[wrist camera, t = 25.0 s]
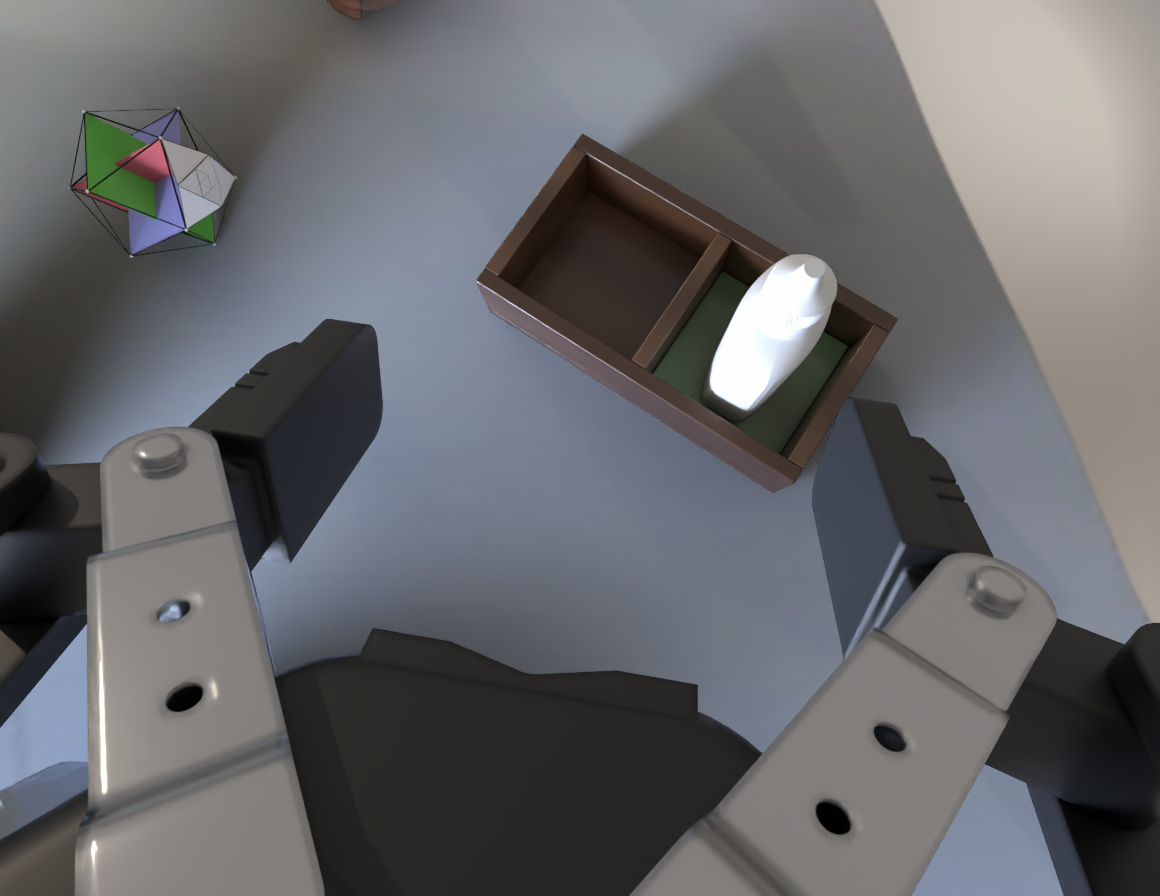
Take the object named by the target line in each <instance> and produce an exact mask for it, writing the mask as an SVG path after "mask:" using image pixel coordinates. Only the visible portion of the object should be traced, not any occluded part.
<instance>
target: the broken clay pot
mask: <svg viewBox="0 0 1160 896" xmlns="http://www.w3.org/2000/svg"><path fill="white" fill-rule="evenodd" d="M399 1H401V0H327V2H328V3H329V4H331V6H332V7H333V8H334V9H335V10H336V11H338V12H340V13H342V14H344V15H346V16H349V17H351V18H353V19H359V17H361V16H362V12H363V13H365V14H372V13H374V12H377V11H380V10H383V9H385V8H387V7H389V6H391V5H393V4H395V3H397V2H399Z"/></svg>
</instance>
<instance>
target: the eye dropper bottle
mask: <svg viewBox="0 0 1160 896" xmlns="http://www.w3.org/2000/svg"><path fill="white" fill-rule="evenodd" d="M833 273H834V272H833V271H832V269H831V268H830V266H828V265H827V264H826V263H825V262H824V261H822V259H819V258H817V257H815V256H812V255H806V254H804V255H803V254H800V255H799V254H797V255H795V254H794V255H790V256H787V257H785V258H783V259H781V260H780V261H778V262H777V263H775V264H774V265H773V266H771V267H770V268H769V269H767V270H766V271H765V272H764V273H763V274H762V275H761V276H760V277H759V278H758V279H757V280H756V281H755V282H754V283H753V285H752V286H751V287H750V288H749V290H748V291H747V293H746V294H745V296H744V297H743V299H742V301H741V302H740V304H739V306H738V308H737V310H736V312H735V314H734V316H733V318H732V320H731V322H730V324H729V326H728V328H727V330H726V332H725V334H724V336H723V338H722V340H721V342H720V344H719V346H718V348H717V351H716V353H715V355H714V357H713V359H712V361H711V363H710V366H709V369H708V371H707V375H706V379H705V383H704V389H703V399H704V403H705V404H706V405H707V406H708V407H709V408H711V409H713V410H714V411H716V412H718V413H719V414H721V415H723V416H725V417H727V418H728V419H730V420H733V421H741V420H743V419H745V418H747V417H748V416H750V415H751V414H752V413H754V412H755V411H756V410H757V409H758V408H759V407H760V406H761V405H763V404H764V402H765V401H766V400H767V399H768V398H769V397H770V396H771V395H772V394H773V393H774V392H775V391H776V390H777V389H778V387H779V386H780V385H781V384H782V383H783V382H784V381H785V380H786V379H787V378H788V377H789V376H790V375H791V373H792V372H793V371H794V370H795V369H796V368H797V367H798V366H799V365H800V364H801V363H802V361H803V360H804V359H805V358H806V357H807V355H808V354H809V353H810V352H811V350H812V349H813V347H814V346H815V345H816V343H817V341H818V340H819V338H820V336H821V334H822V332H823V330H824V328H825V326H826V324H827V321H828V318H829V315H830V312H831V307H832V303H833V302H834V300H835V297H836V296H837V295H836V293H837V284H836V283H837V281H836V278H835V275H834V274H833Z"/></svg>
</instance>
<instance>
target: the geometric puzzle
mask: <svg viewBox="0 0 1160 896" xmlns="http://www.w3.org/2000/svg"><path fill="white" fill-rule="evenodd" d="M148 110H161V109H148ZM118 111H131V110H118ZM82 112H83V113H84V114H83V119H84V129H85V154H86V173H85V174H84V175H83V176H82V177H81V178H80V179H78V180H77V181H76V182H75V183H74V184H73V185H72V186H71V184H70V186H69V187H68V189H69V190H72V191H73V192H74V191H76V192H78V193H81V194H83V195H86V196H88V197H91V198H92V200H93V199H95V200H98V201H100V202H103V203H105V204H108V205H110V206H113V207H115V208H118V209H120V210H123V211H125V212H127V213H128V215H129V234H130V254H129V252H128V251H127V249H126V248H125V246H124V245H123V243H122V242H121V240H120V239H119V237H118V236H117V234H116V233H115V231H114V230H113V228H112V227H111V225H110V224H109V222H108V221H107V219H106V218H105V216H104V215H103V213H102V212H101V210H100V209H99V207H98V206H97V204H96V203H95V201H94V200H93V201H94V203H95V204H96V206H97V207H98V209H99V210H100V212H101V213H102V215H103V216H104V218H105V219H106V221H107V222H108V224H109V225H110V227H111V228H112V230H113V231H114V233H115V234H116V236H117V237H118V239H119V240H120V242H121V243H122V245H123V246H124V247H123V246H122V245H121V244H120V243H119V242H118V241H117V239H116V238H115V237H114V236H113V235H112V234H111V233H110V232H109V231H108V229H107V228H106V227H105V226H104V225H103V224H102V223H101V222H100V220H99V219H98V218H97V217H96V216H95V215H94V214H93V213H92V212H91V213H92V214H93V215H94V216H95V217H96V218H97V219H98V220H99V222H100V223H101V224H102V225H103V226H104V227H105V228H106V229H107V231H108V232H109V233H110V234H111V235H112V236H113V237H114V238H115V239H116V241H117V242H118V243H119V244H120V245H121V246H122V247H123V248H124V250H125V249H126V250H125V251H126V252H127V253H128V254H129V255H130V258H133V256H137V255H135V254H137V253H140V252H142V251H144V250H146V249H148V248H150V247H152V246H154V245H156V244H159V243H161V242H163V241H165V240H167V239H169V238H171V237H173V236H175V235H177V234H180V233H183V234H186V235H189V236H192V237H195V238H197V239H200V240H203V241H206V242H208V243H211V244H208V245H212V244H213V245H216V243H215V242H216V241H215V236H214V222H213V212H215V211H216V210H218V209H219V208H221V207H222V206H223V204H224V202H225V200H226V198H227V196H228V193H229V191H230V189H231V187H232V185H233V186H234V184H233V183H234V182H235V179H237V176H233V175H232V174H233V173H232V172H231V171H230V172H231V173H232V174H231V173H230V172H229V171H228V170H226V169H225V168H224V167H223V166H222V165H221V164H219V163H218V162H217V161H216V160H215V159H213V158H212V157H211V156H210V155H209V154H206V153H203V152H200V151H198V149H197V147H196V144H195V142H194V140H193V138H192V136H191V134H190V131H189V129H188V127H187V125H186V123H185V121H184V119H183V116H182V114H183V113H182V112H181V111H180V108H179V107H177V109H175V110H174V111H172V112H170V113H168V114H167V115H165V116H163V117H161V118H160V119H158V120H156V121H154V122H153V123H151V124H149V125H148V126H146V127H144V128H142V129H141V130H138V129H135V128H132V127H129V126H126V125H123V124H120V123H118V122H115V121H112V120H109V119H106V118H103V117H100V116H97V115H94V114H91V113H88V112H101V111H87V112H86V111H85V110H82ZM179 113H180V115H181V117H182V120H183V122H184V124H185V126H186V128H187V130H188V132H189V135H190V137H191V139H192V141H193V143H194V145H195V147H196V149H197V150H194V149H192V148H189V147H186V146H183V145H181V140H180V125H179ZM181 113H182V114H181ZM92 115H93V116H92ZM94 116H96V117H99V118H102V119H105V120H107V121H110V122H113V123H116V124H119V125H122V126H125V127H128V128H131V129H134V130H137V132H135V133H134V134H132V135H129V134H127V133H125V132H123V131H121V130H119V129H117V128H115V127H113V126H111V125H109V124H107V123H105V122H103V121H101V120H100V119H98V118H96V117H94ZM185 118H186V117H185ZM186 119H187V118H186ZM187 120H188V119H187ZM190 124H191V123H190ZM82 125H83V120H82ZM82 125H81V130H82ZM191 125H192V124H191ZM192 126H193V125H192ZM195 130H196V129H195ZM196 131H197V130H196ZM197 132H198V131H197ZM80 135H81V131H80ZM200 136H201V135H200ZM201 137H202V136H201ZM202 138H203V137H202ZM79 141H80V136H79ZM79 141H78V146H79ZM205 142H206V141H205ZM206 143H207V142H206ZM207 144H208V143H207ZM210 148H211V147H210ZM211 149H212V148H211ZM212 150H213V149H212ZM77 151H78V147H77ZM215 154H216V153H215ZM216 155H217V154H216ZM217 156H218V155H217ZM76 157H77V152H76ZM76 157H75V162H76ZM220 160H221V159H220ZM221 161H222V160H221ZM222 162H223V161H222ZM225 166H226V165H225ZM74 167H75V163H74ZM226 167H227V166H226ZM227 168H228V167H227ZM73 173H74V168H73ZM84 176H86V179H85V180H84V181H82V182H80V183H78V182H79V181H80V180H81V179H82V178H83V177H84ZM72 178H73V174H72ZM71 183H72V179H71ZM77 183H78V184H77ZM76 184H77V185H76ZM74 185H75V186H74ZM232 189H233V187H232ZM231 192H232V191H231ZM74 194H75V192H74ZM75 195H76V194H75ZM230 195H231V194H230ZM76 196H77V195H76ZM77 197H78V196H77ZM78 198H79V197H78ZM229 198H230V197H229ZM79 199H80V198H79ZM80 200H81V199H80ZM81 201H82V200H81ZM228 201H229V200H228ZM82 203H83V201H82ZM83 204H84V203H83ZM227 204H228V203H227ZM84 205H85V204H84ZM85 206H86V205H85ZM86 207H87V206H86ZM226 207H227V206H226ZM87 208H88V207H87ZM88 209H89V208H88ZM89 210H90V209H89ZM90 211H91V210H90ZM225 211H226V209H225ZM224 214H225V212H224ZM223 217H224V216H223ZM222 220H223V219H222ZM221 223H222V222H221ZM220 226H221V225H220ZM219 229H220V228H219ZM186 232H187V233H186ZM218 232H219V231H218ZM188 233H189V234H188ZM191 234H192V235H191ZM217 236H218V234H217ZM216 239H217V237H216ZM201 246H205V245H201ZM194 247H198V246H194ZM188 248H191V247H188ZM181 249H185V248H181ZM174 250H178V249H174ZM167 251H171V250H167ZM160 252H164V251H160ZM153 253H157V252H153ZM147 254H151V253H147ZM140 255H144V254H140Z"/></svg>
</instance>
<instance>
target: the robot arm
mask: <svg viewBox="0 0 1160 896" xmlns="http://www.w3.org/2000/svg"><path fill="white" fill-rule="evenodd" d="M382 411H383V400H382V389H381V378H380V367H379V355H378V344H377V336H376V332H375V330H374V328H373V327H372V326H371V325H368V324H361V323H354V322H347V321H341V320H334V319H326V320H324V321H323V322H322V323H321V324H320V325H319V326H318V327H317V328H316V329H315V330H314V331H313V332H311V333H310V334H309V335H308V336H307V337H306V338H305V339H304V340H303V341H302V342H301V343H297V342H293V343H290V344H288V345H286V346H284V347H282V348H279V349H277V350H275V351H273V352H271V353H269V354H267V355H266V356H264V357H263V358H262V359H261V360H260V361H259V362H258V363H257V364H256V365H255V366H254V367H253V368H251V369H250V373H249V374H247V373H246V374H245V375H244V376H243V377H242V378H241V379H240V380H238V381H237V382H236V383H235V387H231V388H230V389H229V390H228V391H227V392H225V393H224V394H223V395H222V396H221V397H220V398H219V399H218V400H217V401H216V402H215V403H213V404H212V405H211V406H210V407H209V408H208V409H207V410H206V411H205V412H204V413H203V414H202V415H200V416H199V417H198V418H197V419H196V420H195V421H194V422H193V423H192V424H191V425H190V426H189V427H165V428H158V429H153V430H149V431H145V432H142V433H139V434H136V435H134V436H131V437H129V438H127V439H125V440H123V441H121V442H120V443H118V444H117V445H115V446H114V447H113V448H112V449H110V450H109V451H108V452H107V453H106V455H105V456H104V457H103V459H102V461H101V463H81V464H61V465H45V464H44V462H43V460H42V458H41V455H40V453H39V451H38V449H37V446H36V444H35V443H34V442H33V441H32V440H31V439H29V438H28V437H26V436H23V435H20V434H15V433H5V432H0V728H1V726H2V725H3V724H4V723H5V722H6V720H7V719H8V718H9V717H10V716H11V714H12V713H13V712H14V711H15V709H16V708H17V707H18V706H19V705H20V703H21V702H22V701H23V700H24V699H25V697H26V696H27V695H28V694H29V693H30V691H31V690H32V689H33V688H34V687H35V685H36V684H37V683H38V682H39V681H40V679H41V678H42V677H43V676H44V675H45V673H46V672H47V671H48V670H49V669H50V667H51V666H52V665H53V664H54V663H55V661H56V660H57V659H58V658H59V657H60V655H61V654H62V653H63V652H64V651H65V649H66V648H67V647H68V646H69V645H70V643H71V642H72V641H73V640H74V639H75V637H76V636H77V635H78V634H79V633H80V631H81V630H82V629H83V628H84V627H85V625H86V624H87V679H88V787H87V788H85V789H84V790H82V791H80V792H79V793H77V794H75V795H74V796H72V797H70V798H69V799H67V800H65V801H64V802H62V803H60V804H58V805H57V806H55V807H53V808H52V809H50V810H48V811H47V812H45V813H43V814H42V815H40V816H38V817H37V818H35V819H33V820H32V821H30V822H28V823H27V824H25V825H23V826H22V827H20V828H18V829H17V830H15V831H13V832H12V833H10V834H8V835H7V836H5V837H3V838H1V839H0V896H912V894H913V892H914V890H915V888H916V887H917V885H918V883H919V881H920V879H921V878H922V876H923V874H924V872H925V870H926V869H927V867H928V865H929V863H930V861H931V860H932V858H933V856H934V854H935V852H936V851H937V849H938V847H939V845H940V843H941V842H942V840H943V838H944V836H945V834H946V833H947V831H948V829H949V827H950V825H951V823H952V822H953V820H954V818H955V816H956V814H957V813H958V811H959V809H960V807H961V805H962V804H963V802H964V800H965V798H966V796H967V795H968V793H969V791H970V789H971V787H972V786H973V784H974V782H975V780H976V778H977V777H978V775H979V773H980V771H981V769H982V768H983V766H984V764H986V765H988V766H990V767H992V768H995V769H997V770H999V771H1001V772H1003V773H1006V774H1008V775H1010V776H1012V777H1014V778H1016V779H1019V780H1021V781H1023V782H1025V783H1026V784H1027V787H1028V790H1029V793H1030V796H1031V799H1032V802H1033V805H1034V808H1035V811H1036V814H1037V817H1038V820H1039V823H1040V826H1041V829H1042V832H1043V835H1044V838H1045V841H1046V844H1047V847H1048V850H1049V853H1050V856H1051V859H1052V862H1053V865H1054V868H1055V871H1056V874H1057V877H1058V880H1059V883H1060V886H1061V888H1062V891H1063V894H1064V896H1160V623H1151V624H1146V625H1144V626H1142V627H1140V628H1139V629H1138V630H1137V631H1136V632H1135V633H1134V634H1133V635H1132V636H1131V638H1130V639H1129V640H1128V641H1127V642H1126V644H1125V645H1124V644H1122V643H1119V642H1117V641H1114V640H1111V639H1109V638H1106V637H1103V636H1101V635H1098V634H1096V633H1093V632H1090V631H1088V630H1085V629H1082V628H1080V627H1077V626H1075V625H1072V624H1069V623H1067V622H1065V621H1062V620H1060V619H1058V618H1057V613H1056V609H1055V606H1054V604H1053V602H1052V600H1051V598H1050V597H1049V596H1048V594H1047V593H1046V591H1045V590H1044V589H1043V588H1042V587H1041V586H1040V585H1039V584H1038V583H1037V582H1036V581H1034V580H1033V579H1032V578H1031V577H1029V576H1028V575H1027V574H1025V573H1024V572H1022V571H1021V570H1019V569H1017V568H1016V567H1014V566H1012V565H1010V564H1008V563H1006V562H1004V561H1001V560H999V559H996V558H994V557H993V554H992V552H991V550H990V548H989V546H988V544H987V542H986V540H985V538H984V536H983V534H982V532H981V530H980V528H979V526H978V524H977V522H976V520H975V518H974V516H973V514H972V512H971V510H970V508H969V506H968V504H967V503H965V502H964V499H965V498H964V495H963V493H962V491H961V489H960V487H959V485H956V484H955V482H956V479H955V477H954V475H953V473H952V471H951V469H950V467H949V465H948V463H947V461H946V459H945V458H944V457H943V456H942V455H941V454H940V453H939V452H938V451H937V450H935V449H934V448H933V447H932V446H931V445H930V444H929V443H928V442H927V441H926V440H925V439H924V438H919V437H912V436H910V433H909V431H908V429H907V427H906V424H905V422H904V420H903V418H902V415H901V413H900V411H899V409H898V407H897V405H895V404H893V403H886V402H879V401H872V400H866V399H859V398H852V397H848V398H846V399H845V400H844V402H843V403H842V405H841V407H840V409H839V412H838V415H837V417H836V420H835V423H834V426H833V428H832V431H831V434H830V436H829V439H828V442H827V445H826V447H825V450H824V453H823V455H822V458H821V461H820V464H819V466H818V469H817V472H816V475H815V479H814V485H813V492H812V506H813V511H814V516H815V521H816V526H817V531H818V536H819V540H820V545H821V550H822V555H823V560H824V565H825V569H826V574H827V579H828V584H829V589H830V593H831V598H832V603H833V608H834V613H835V618H836V622H837V627H838V632H839V637H840V642H841V647H842V651H843V656H844V661H843V662H842V663H841V664H840V665H839V667H838V668H837V669H836V670H835V671H834V672H833V673H832V675H831V676H830V677H829V678H828V679H827V680H826V681H825V683H824V684H823V685H822V686H821V687H820V688H819V690H818V691H817V692H816V693H815V694H814V695H813V696H812V698H811V699H810V700H809V701H808V702H807V703H806V704H805V706H804V707H803V708H802V709H801V710H800V711H799V713H798V714H797V715H796V716H795V717H794V718H793V719H792V721H791V722H790V723H789V724H788V725H787V726H786V727H785V729H784V730H783V731H782V732H781V733H780V734H779V736H778V737H777V738H776V739H775V740H774V741H773V742H772V744H771V745H770V746H769V747H768V748H767V749H766V750H765V752H764V753H761V752H760V751H759V750H758V749H757V748H756V747H754V746H753V745H752V744H751V743H750V742H749V741H747V740H746V739H745V738H743V737H742V736H741V735H739V734H738V733H736V732H735V731H733V730H732V729H730V728H729V727H727V726H726V725H724V724H722V723H720V722H718V721H717V720H715V719H713V718H711V717H709V716H707V715H705V714H702V713H700V712H698V685H696V684H690V683H685V682H679V681H673V680H667V679H662V678H656V677H650V676H645V675H639V674H633V673H627V672H622V671H596V672H576V673H555V674H528V673H524V672H521V671H518V670H516V669H514V668H511V667H509V666H507V665H504V664H502V663H500V662H497V661H495V660H493V659H490V658H488V657H486V656H483V655H481V654H479V653H476V652H474V651H472V650H469V649H467V648H465V647H462V646H460V645H458V644H455V643H453V642H450V641H444V640H439V639H433V638H427V637H422V636H416V635H410V634H404V633H399V632H393V631H387V630H382V629H376V628H373V629H372V631H371V633H370V635H369V637H368V639H367V641H366V643H365V645H364V647H363V649H362V651H361V653H350V654H343V655H337V656H331V657H327V658H323V659H319V660H315V661H311V662H308V663H306V664H303V665H300V666H297V667H294V668H292V669H289V670H287V671H285V672H283V673H281V674H279V675H277V673H276V669H275V665H274V661H273V657H272V653H271V649H270V644H269V640H268V636H267V632H266V628H265V624H264V620H263V616H262V612H261V608H260V604H259V600H258V596H257V592H256V588H255V584H254V580H253V577H252V573H251V571H252V570H253V569H254V567H255V566H256V565H257V563H258V562H259V560H260V559H265V560H271V561H276V562H282V563H288V564H290V563H291V562H292V560H293V559H294V557H295V556H296V554H297V553H298V551H299V550H300V548H301V547H302V545H303V544H304V542H305V541H306V539H307V538H308V536H309V535H310V533H311V532H312V530H313V529H314V527H315V526H316V524H317V523H318V522H319V520H320V519H321V517H322V516H323V514H324V513H325V511H326V510H327V508H328V507H329V505H330V504H331V502H332V501H333V499H334V498H335V496H336V495H337V493H338V492H339V490H340V489H341V487H342V486H343V484H344V483H345V481H346V480H347V478H348V477H349V475H350V474H351V472H352V471H353V469H354V468H355V467H356V465H357V464H358V462H359V461H360V459H361V458H362V456H363V455H364V453H365V452H366V450H367V449H368V447H369V446H370V444H371V443H372V441H373V440H374V438H375V437H376V435H377V432H378V430H379V427H380V423H381V419H382Z"/></svg>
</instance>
